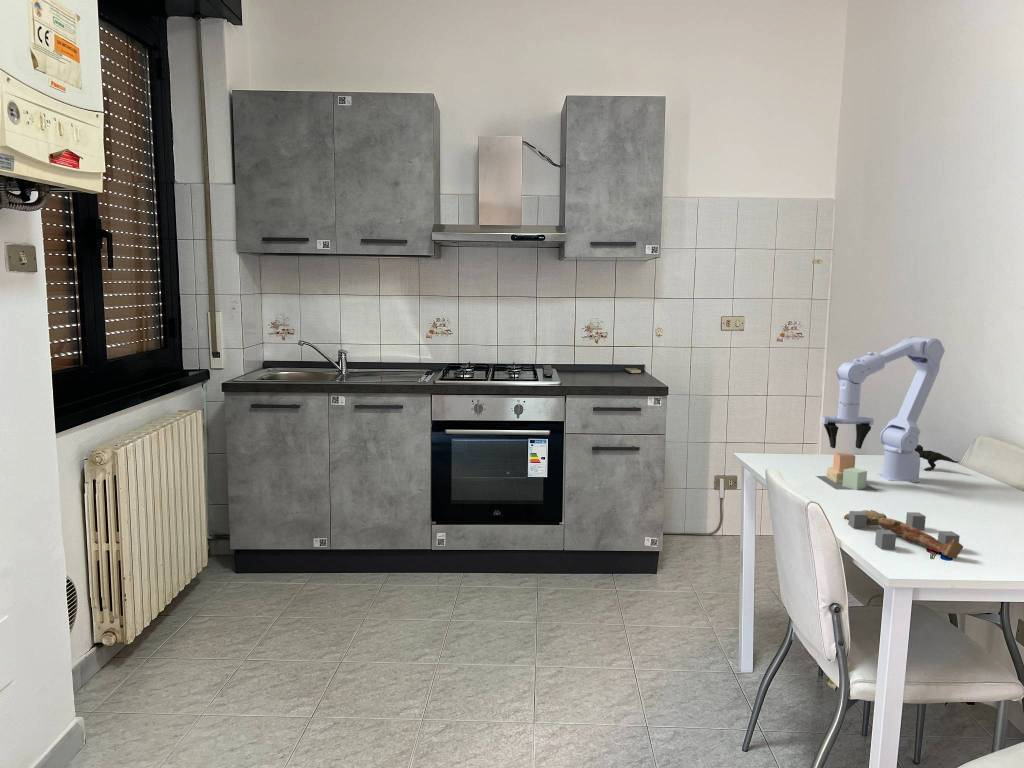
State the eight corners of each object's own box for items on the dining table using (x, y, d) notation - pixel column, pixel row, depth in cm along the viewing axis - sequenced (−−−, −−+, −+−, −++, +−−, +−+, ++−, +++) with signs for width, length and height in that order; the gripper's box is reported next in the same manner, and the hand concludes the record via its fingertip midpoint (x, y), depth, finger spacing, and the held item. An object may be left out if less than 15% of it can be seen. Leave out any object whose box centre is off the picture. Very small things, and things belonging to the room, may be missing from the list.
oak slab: (849, 477, 226) (850, 467, 226) (859, 483, 219) (860, 473, 219) (826, 476, 226) (827, 467, 226) (836, 482, 219) (836, 473, 219)
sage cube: (865, 487, 215) (867, 471, 214) (856, 489, 212) (857, 472, 212) (851, 484, 218) (852, 467, 218) (842, 486, 216) (843, 469, 215)
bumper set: (917, 526, 181) (919, 512, 181) (958, 550, 164) (959, 535, 164) (848, 524, 181) (849, 510, 181) (881, 549, 165) (882, 533, 164)
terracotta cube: (847, 468, 225) (849, 452, 224) (854, 472, 220) (855, 456, 220) (832, 468, 225) (834, 452, 224) (839, 472, 220) (840, 455, 220)
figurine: (952, 536, 158) (847, 491, 186) (936, 560, 158) (833, 511, 185) (970, 552, 161) (864, 505, 189) (955, 575, 160) (851, 525, 188)
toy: (912, 465, 246) (914, 441, 245) (961, 474, 234) (963, 449, 233) (905, 467, 243) (907, 443, 242) (955, 476, 231) (957, 451, 230)
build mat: (854, 478, 227) (854, 476, 227) (877, 491, 212) (877, 490, 212) (815, 477, 227) (815, 475, 227) (835, 490, 213) (835, 489, 212)
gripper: (867, 401, 224) (863, 445, 225) (819, 400, 224) (816, 444, 226) (878, 405, 217) (874, 450, 218) (828, 404, 217) (825, 449, 219)
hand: (845, 447), depth 221 cm, fingers open, 7 cm apart
